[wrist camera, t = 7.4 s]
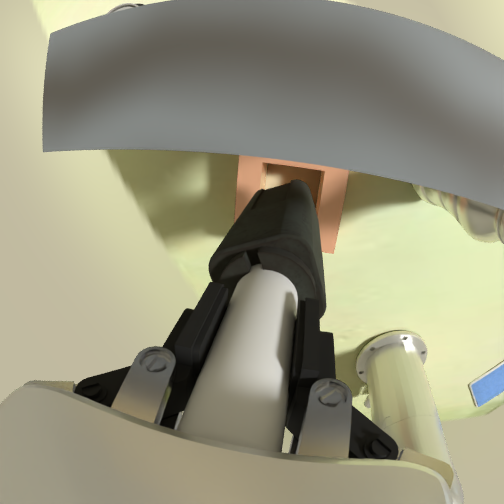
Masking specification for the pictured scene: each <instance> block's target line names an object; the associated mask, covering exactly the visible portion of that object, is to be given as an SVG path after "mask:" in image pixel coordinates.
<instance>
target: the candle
mask: <svg viewBox="0 0 504 504" xmlns="http://www.w3.org/2000/svg"><path fill="white" fill-rule="evenodd" d="M209 273H210V277H211V279H212V281H213V282H215V283H220V284H224V288H228V304H227V310H226V312H225V314H224V317H223V319H222V322H221V324H220V326H219V329H218V331H217V334H216V336H215V338H214V341H213V343H212V346H211V348H210V350H209V353H208V355H207V357H206V360H205V362H204V365H203V367H202V369H201V372H200V374H199V377H198V379H197V381H196V384H195V386H194V389H193V391H192V393H191V396H190V398H189V401H188V403H187V405H186V408H185V410H184V413H183V415H182V417H181V420H180V422H179V425H178V427H177V429H176V430H177V431H180V432H184V433H187V434H191V435H195V436H199V437H203V438H207V439H211V440H215V441H219V442H224V443H229V444H233V445H239V446H244V447H249V448H255V449H261V450H267V451H274V452H282V444H283V438H284V430H285V423H286V415H287V406H288V398H289V382H290V373H291V364H292V354H293V344H294V333H295V322H296V316H297V311H298V306H299V302H300V300H303V301H305V298H306V297H307V298H314V299H319V319H320V318H321V317H322V316H323V315H324V313H325V310H326V294H325V281H324V269H323V258H322V248H321V238H320V229H319V221H318V216H317V213H316V209H315V206H314V202H313V198H312V195H311V192H310V189H309V187H308V185H307V184H306V183H305V182H303V181H301V180H291V183H288V184H285V185H281V186H278V187H274V188H271V189H267V190H264V189H260V190H258V191H257V192H256V193H255V194H254V196H253V197H252V198H251V200H250V201H249V203H248V204H247V206H246V207H245V209H244V210H243V211H242V213H241V214H240V216H239V217H238V219H237V220H236V222H235V223H234V225H233V226H232V228H231V229H230V230H229V232H228V233H227V235H226V236H225V238H224V239H223V241H222V242H221V244H220V245H219V247H218V248H217V250H216V251H215V253H214V254H213V256H212V257H211V259H210V262H209Z"/></svg>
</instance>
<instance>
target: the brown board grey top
mask: <svg viewBox="0 0 504 504" xmlns="http://www.w3.org/2000/svg"><path fill="white" fill-rule="evenodd" d="M97 149H99V150H101V149H141V150H174V151H193V152H209V153H222V154H233V155H244V156H254V157H263V158H271V159H279V160H287V161H294V162H301V163H308V164H315V165H321V166H327V167H333V168H339V169H345V170H350V171H356V172H361V173H366V174H371V175H376V176H381V177H385V178H390V179H395V180H399V181H403V182H408V183H412V184H416V185H420V186H424V187H428V188H432V189H436V190H440V191H443V192H447V193H451V194H454V195H458V196H461V197H464V198H468V199H471V200H474V201H478V202H481V203H484V204H487V205H490V206H493V207H496V208H499V209H502V210H504V60H502V59H500V58H499V57H496V56H495V55H493V54H491V53H489V52H487V51H485V50H484V49H482V48H480V47H477V46H475V45H473V44H471V43H469V42H467V41H465V40H463V39H460V38H458V37H456V36H453V35H451V34H448V33H446V32H444V31H441V30H439V29H436V28H433V27H431V26H428V25H425V24H422V23H419V22H416V21H413V20H410V19H407V18H404V17H400V16H397V15H394V14H390V13H386V12H382V11H378V10H374V9H370V8H366V7H361V6H356V5H351V4H346V3H340V2H334V1H328V0H171V1H165V2H159V3H153V4H148V5H143V6H138V7H133V8H129V9H125V10H121V11H117V12H113V13H109V14H106V15H102V16H99V17H95V18H92V19H89V20H86V21H83V22H80V23H77V24H74V25H71V26H69V27H66V28H63V29H61V30H58V31H55V32H53V33H51V34H50V39H49V46H48V53H47V62H46V70H45V80H44V95H43V152H52V151H70V150H97Z"/></svg>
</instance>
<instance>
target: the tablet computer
mask: <svg viewBox="0 0 504 504" xmlns="http://www.w3.org/2000/svg"><path fill="white" fill-rule="evenodd" d="M469 387H470V390H471V393H472V396H473V399H474V402H475V405H476V407H479V406H481V405H483V404H484V403H486V402H488V401H489V400H491V399H492V398H494V397H495V396H497V395H498V394H500V393H501V392H503V391H504V361H502V362H501V363H500V364H498V365H497V366H495V367H494V368H492V369H491V370H489V371H488V372H486V373H485V374H483V375H481V376H480V377H478V378H476V379H475V380H473V381H472V382H470V384H469Z"/></svg>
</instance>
